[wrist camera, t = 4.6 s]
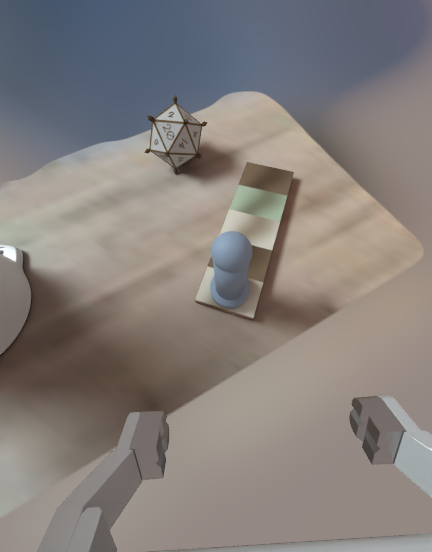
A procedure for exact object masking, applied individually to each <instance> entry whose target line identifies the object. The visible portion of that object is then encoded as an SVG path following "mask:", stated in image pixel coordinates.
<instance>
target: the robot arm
mask: <svg viewBox="0 0 432 552" xmlns="http://www.w3.org/2000/svg"><path fill="white" fill-rule="evenodd" d="M22 267H23V253H22V251H21V250H20V249H18V248H16V247H14V246H8V245H0V355H1V354H2V353H3V352H4V351H5V350H6V349H7V348H8V347H9V346H10V345H11V343H12V342H13V341H14V340H15V338H16V337H17V335H18V334H19V332H20V331H21V329H22V327H23V325H24V323H25V321H26V319H27V316H28V313H29V309H30V304H31V289H30V285H29V282H28V280H27V278H26V276H25V274H24V271H23V268H22ZM352 406H353V407H354V409H353V410H352V411H351V412H350V424H351V427H352V429H353V432H354V433H355V435H356V437H357V438H359V439H360V440H361V441H363V446H362V448H363V449H364V451H365V453H366V455H367V456H368V458H369V460H370V462H371V464H394V466H396V467H397V468H398V469H399V470H400V471H401V472H402V473H404V474H405V475H406V476H407V477H408V478H409V479H410V480H412V481H413V482H414V483H415V484H416V485H417V486H419V487H420V488H421V489H422V490H423V491H424V492H425V493H427V494H428V495H429V496H430V497H431V498H432V434H430V433H428V432H427V431H421V430H420V429H419V427H418V426H417V425H416V424H415V423H414V421H413V420H412V419H411V418H410V417H409V416H408V414H407V413H406V412H405V411H404V410H403V408H402V407H401V406H400V405H399V404H398V402H397V401H396V400H395V399H394V398H393V397H392V396H390V395H389V396H372V397H359V398H354V399H353V400H352ZM166 417H167V416H166V412H165V411H149V412H130V414H129V415H128V417H127V420H126V422H125V425H124V428H123V431H122V434H121V437H120V440H119V442H118V445H117V448H116V451H112V452H111V453H110V454H109V455H108V456H107V457H106V458H105V459H104V460H103V461H102V462H101V463H100V464H99V465H98V466H97V467H96V468H95V469H94V471H92V472H91V474H90V475H89V476H88V477H87V478H86V479H85V480H84V481H83V482H82V483H81V484H80V485H79V486H78V487H77V488H76V489H75V490H74V491H73V492H72V493H71V495H69V497H67V499H66V500H65V501H64V502H63V503H62V504H61V505H60V506H59V507H58V508H57V510H56V512H55V514H54V516H53V518H52V521H51V523H50V525H49V527H48V529H47V531H46V533H45V536H44V538H43V540H42V542H41V544H40V546H39V548H38V551H37V552H117V548H116V546H115V543H114V541H113V538H112V536H111V534H110V531H109V530H110V529H111V527H112V526H113V524H114V523H115V521H116V520H117V518H118V517H119V515H120V514H121V512H122V511H123V509H124V508H125V506H126V505H127V503H128V502H129V500H130V499H131V497H132V496H133V494H134V493H135V491H136V489H137V488H138V487H139V485H140V484H141V482H142V480H148V479H158V478H163V476H164V469H165V463H166V458H165V452H166V450H167V449H168V444H169V426H168V424H167V423H166ZM151 552H152V551H151ZM153 552H432V534H416V535H400V536H385V537H369V538H355V539H354V538H353V539H338V540H324V541H306V542H291V543H275V544H261V545H246V546H245V545H244V546H231V547H230V546H229V547H215V548H214V547H213V548H198V549H183V550H167V551H153Z"/></svg>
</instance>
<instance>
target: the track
mask: <svg viewBox="0 0 432 552" xmlns="http://www.w3.org/2000/svg"><path fill="white" fill-rule="evenodd" d="M293 174H294V172H291V171H286V170H281V169H277V168H272V167H267V166H263V165H258V164H253V163H249V162H247V164H246V166H245V169H244V172H243V174H242V177H241V180H240V182H239V185H238V188H237V190H236V193H235V196H234V198H233V201H232V203H231V206H230V209H229V211H228V214H227V217H226V219H225V222H224V225H223V227H222V230H221V232H220V235H221V234H222V233H225V232H228V231H235V232H239V233H241V234H243V235H244V236H246V237H247V238H248V240H249V241H250V243H251V246H252V258H251V261H250V263H249V267H248V272H247V279H248V281H249V287H250V288H249V293H248V297H247V299H246V301H245V302H244V303H243V304H242V305H241V306H240V307H238V308H235V309H225V308H222V307H220V306H218V305H217V304H216V303H215V302H214V300H213V299H212V296H211V290H210V283H211V280H212V278H213V277H214V267H213V260H212V257H211V259H210V262H209V264H208V267H207V269H206V272H205V275H204V277H203V280H202V283H201V285H200V288H199V291H198V293H197V296H196V298H195V301H196V303H199V304H202V305H205V306H208V307H211V308H215V309H218V310H221V311H224V312H227V313H230V314H234V315H237V316H240V317H243V318H246V319H250V320H253V318H254V314H255V311H256V307H257V304H258V300H259V296H260V293H261V289H262V286H263V282H264V278H265V275H266V271H267V267H268V264H269V260H270V257H271V253H272V249H273V246H274V242H275V239H276V235H277V231H278V228H279V224H280V221H281V217H282V213H283V210H284V206H285V203H286V199H287V195H288V192H289V188H290V184H291V181H292V177H293Z"/></svg>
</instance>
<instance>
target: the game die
mask: <svg viewBox="0 0 432 552" xmlns="http://www.w3.org/2000/svg"><path fill="white" fill-rule="evenodd" d="M173 99H174V100H173V101H174V104H172V105H171V106H170V107H168V108H167V109H166V110H164V111H163V112H162V113H161V114H159V115H158V116H157V117H155V118H153V117H151V116H148V119H149V120H150V121H152V128H151V138H150V149H147V150H146V151H145V153H149V152H150V151H151V152H153V153H154V154H155V155H157V156H158V157H160V158H161V159H162V160H164V161H165V162H167V163H168V164H169V165H171V166H172V167H174V168H175V170H174V172H175V174H177V171H178V170H177V168H178V167H180V166H181V165H183V164H185V163H186V162H188V161H189V160H191V159H192V158H194V157H195V156H197V157H198V158H202V157H201V155H200V154H198V150H199V143H200V136H201V130H202V126H206V124H207V122H203V123H202V124H200V123H199V122H198V121H197V120H196V119H195V118H193V117H192V116H191V115H190V114H189V113H187V112H186V111H185V110H184V109H183V108H182V107H180V106H179V105H178V104H177V97H176V96H175V97H174V98H173Z"/></svg>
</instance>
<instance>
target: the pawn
mask: <svg viewBox="0 0 432 552" xmlns="http://www.w3.org/2000/svg"><path fill="white" fill-rule="evenodd" d="M211 257H212V260H213V267H214V277H213V278H212V280H211V283H210V290H211V296H212V299H213V300H214V302H215V303H216V304H217V305H218V306H220V307H222V308H225V309H235V308H238V307H240V306H241V305H242V304H243V303H244V302H245V301H246V299H247V297H248V293H249V288H250V287H249V281H248V279H247V272H248V267H249V263H250V261H251V258H252V246H251V243H250V241H249V240H248V238H247V237H246V236H244V235H243V234H241V233H239V232H235V231H228V232H225V233H222V234H221V235H219V236H218V237H217V238H216V239H215V241H214V242H213V244H212V247H211Z"/></svg>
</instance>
